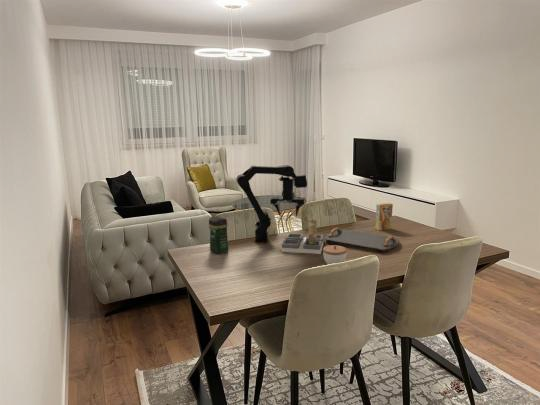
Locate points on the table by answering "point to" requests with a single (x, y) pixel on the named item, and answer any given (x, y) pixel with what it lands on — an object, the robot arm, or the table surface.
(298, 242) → the grey compartment tray
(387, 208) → the candy box
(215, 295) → the table surface
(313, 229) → the stool leg
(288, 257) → the table surface
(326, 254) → the lidded jar
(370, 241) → the serving board
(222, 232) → the coffee jar
